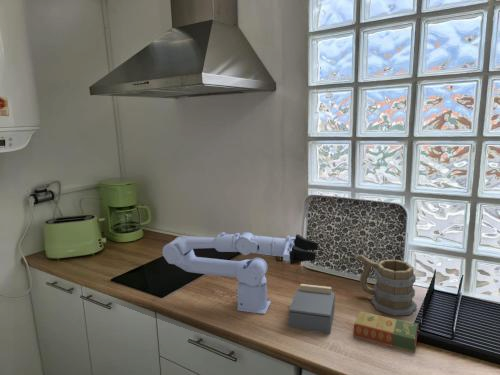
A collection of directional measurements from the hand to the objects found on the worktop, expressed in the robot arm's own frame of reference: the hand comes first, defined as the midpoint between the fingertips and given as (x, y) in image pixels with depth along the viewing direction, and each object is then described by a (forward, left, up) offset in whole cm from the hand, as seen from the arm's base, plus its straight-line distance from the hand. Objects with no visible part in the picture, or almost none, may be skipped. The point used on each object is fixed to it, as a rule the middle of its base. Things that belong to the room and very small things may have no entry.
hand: (316, 251), depth 109 cm
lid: (-1, -3, -16) cm, 16 cm away
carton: (+20, -7, -22) cm, 30 cm away
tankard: (+20, +13, -21) cm, 32 cm away
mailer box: (-1, -3, -21) cm, 21 cm away
